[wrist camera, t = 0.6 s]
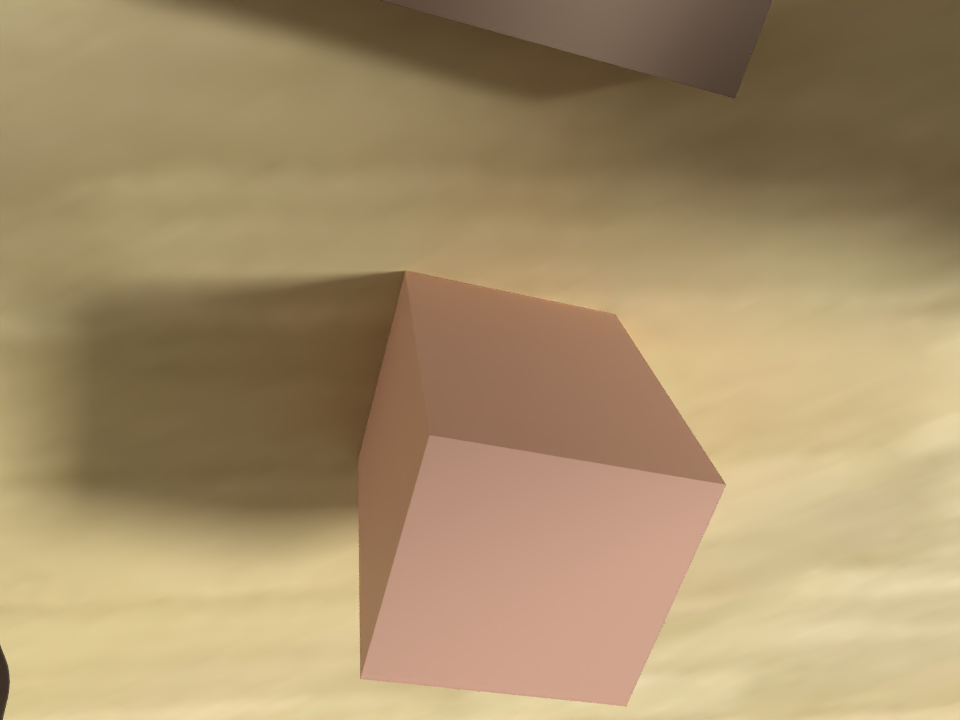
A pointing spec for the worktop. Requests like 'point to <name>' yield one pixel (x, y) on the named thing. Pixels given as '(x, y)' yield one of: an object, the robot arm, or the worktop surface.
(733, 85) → the walnut base
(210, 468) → the worktop surface
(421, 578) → the terracotta block
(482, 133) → the worktop surface
